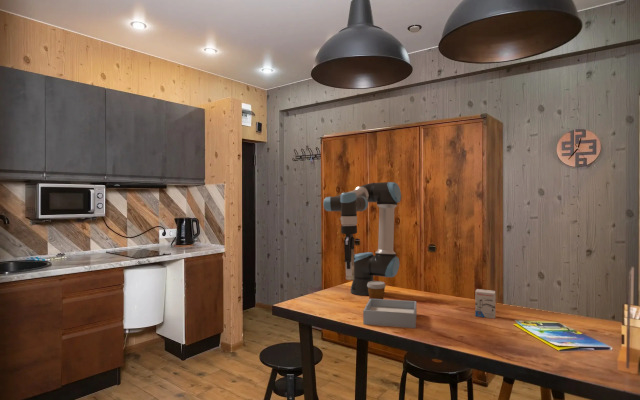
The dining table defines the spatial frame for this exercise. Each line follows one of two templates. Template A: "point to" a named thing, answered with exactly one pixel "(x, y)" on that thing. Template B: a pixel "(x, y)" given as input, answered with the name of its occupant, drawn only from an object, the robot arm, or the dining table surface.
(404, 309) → the socket box
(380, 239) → the robot arm
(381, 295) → the disposable coffee cup
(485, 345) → the dining table surface
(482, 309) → the ink box
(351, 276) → the beech dowel
